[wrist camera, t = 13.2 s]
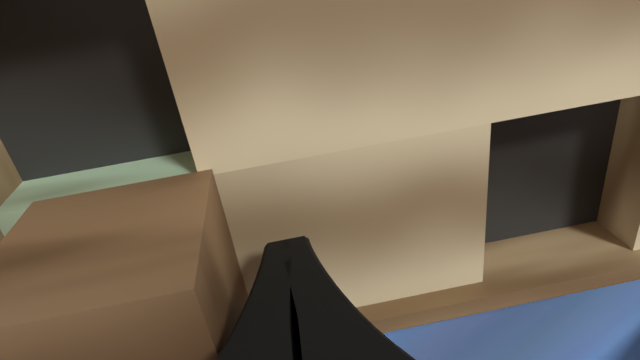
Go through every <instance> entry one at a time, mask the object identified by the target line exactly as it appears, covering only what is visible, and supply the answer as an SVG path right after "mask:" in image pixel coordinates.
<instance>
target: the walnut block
mask: <svg viewBox="0 0 640 360" xmlns="http://www.w3.org/2000/svg"><path fill="white" fill-rule="evenodd" d="M247 299H248V294H247V290H246V287H245V283H244V280H243V276H242V273H241V269H240V266H239V262H238V259H237V255H236V252H235V248H234V245H233V241H232V238H231V234H230V231H229V227H228V224H227V220H226V216H225V213H224V209H223V206H222V202H221V199H220V195H219V192H218V188H217V185H216V181H215V178H214V174H213V171H212V169H209V170H204V171H198V172H193V173H187V174H182V175H177V176H171V177H166V178H160V179H155V180H149V181H144V182H138V183H133V184H127V185H122V186H116V187H111V188H105V189H100V190H94V191H89V192H83V193H78V194H72V195H67V196H62V197H56V198H51V199H45V200H40V201H34V202H32V203H31V204H30V206H29V207H28V208H27V209H26V211H25V212H24V213H23V214H22V216H21V217H20V218H19V219H18V221H17V222H16V223H15V224H14V226H13V227H12V228H11V229H10V231H9V232H8V233H7V234H6V236H5V237H4V238H3V239H2V241H1V242H0V360H216V358H217V357H218V355H219V353H220V352H221V350H222V348H223V347H224V345H225V343H226V341H227V340H228V338H229V336H230V334H231V332H232V330H233V328H234V326H235V324H236V322H237V320H238V318H239V316H240V314H241V312H242V310H243V308H244V305H245V303H246V301H247Z"/></svg>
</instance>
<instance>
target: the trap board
mask: <svg viewBox="0 0 640 360" xmlns="http://www.w3.org/2000/svg"><path fill="white" fill-rule="evenodd" d="M209 169H212V171H213V174H214V178H215V181H216V185H217V188H218V192H219V195H220V199H221V202H222V206H223V209H224V213H225V216H226V220H227V224H228V227H229V231H230V234H231V238H232V241H233V245H234V248H235V252H236V255H237V259H238V262H239V266H240V269H241V273H242V276H243V280H244V283H245V287H246V290H247V294H248V296H249V294H250V291H251V288H252V286H253V283H254V281H255V278H256V275H257V272H258V269H259V266H260V263H261V259H262V256H263V251H264V247H265V246H266V244H267V243H270V242H275V241H280V240H285V239H290V238H295V237H300V236H305V237H307V238H309V241H310V244H311V246H312V248H313V250H314V252H315V254H316V256H317V257H318V259H319V261H320V262H321V264H322V265H323V267H324V268H325V270H326V271H327V273H328V274H329V275H330V277H331V278H332V279H333V281H334V282H335V283H336V285H337V286H338V287H339V289H340V290H341V291H342V292H343V293H344V295H345V296H346V297H347V298H348V299H349V300H350V301H351V303H352V304H353V305H354V306H355V307H356V308H357V309H358V310H359V311H360V312H361V313H362V314H363V315H364V316H365V317H366V318H367V319H368V320H369V321H370V322H371V323H372V324H373V325H374V326H375V327H376V328H377V329H378V330H379V331H380V332H382V333H386V332H391V331H395V330H400V329H405V328H410V327H414V326H419V325H424V324H429V323H434V322H438V321H443V320H448V319H453V318H457V317H462V316H467V315H472V314H477V313H481V312H486V311H491V310H496V309H500V308H505V307H510V306H515V305H520V304H524V303H529V302H534V301H539V300H543V299H548V298H553V297H558V296H563V295H567V294H572V293H577V292H582V291H586V290H591V289H596V288H601V287H606V286H610V285H615V284H620V283H625V282H629V281H634V280H639V279H640V0H0V242H1V241H2V239H3V238H4V237H5V236H6V234H7V233H8V232H9V231H10V229H11V228H12V227H13V226H14V224H15V223H16V222H17V221H18V219H19V218H20V217H21V216H22V214H23V213H24V212H25V211H26V209H27V208H28V207H29V206H30V204H31V203H32V202H34V201H40V200H45V199H51V198H56V197H62V196H67V195H72V194H78V193H83V192H89V191H94V190H100V189H105V188H111V187H116V186H122V185H127V184H133V183H138V182H144V181H149V180H155V179H160V178H166V177H171V176H177V175H182V174H187V173H193V172H198V171H204V170H209Z"/></svg>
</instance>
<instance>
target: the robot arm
mask: <svg viewBox="0 0 640 360" xmlns="http://www.w3.org/2000/svg"><path fill="white" fill-rule="evenodd" d="M216 360H415V359H414V358H413V357H411V356H410V355H409V354H407V353H406V352H405V351H404V350H402V349H401V348H400V347H398V346H397V345H396V344H394V343H393V342H392V341H391V340H390V339H388V338H387V337H386V336H385V335H384V334H383V333H382V332H380V331H379V330H378V329H377V328H376V327H375V326H374V325H373V324H372V323H371V322H370V321H369V320H368V319H367V318H366V317H365V316H364V315H363V314H362V313H361V312H360V311H359V310H358V309H357V308H356V307H355V306H354V305H353V304H352V303H351V301H350V300H349V299H348V298H347V297H346V296H345V295H344V293H343V292H342V291H341V290H340V289H339V287H338V286H337V285H336V283H335V282H334V281H333V279H332V278H331V277H330V275H329V274H328V273H327V271H326V270H325V268H324V267H323V265H322V264H321V262H320V261H319V259H318V257H317V256H316V254H315V252H314V250H313V248H312V246H311V244H310V241H309V238H307V237H305V236H300V237H295V238H290V239H285V240H280V241H275V242H270V243H267V244H266V246H265V247H264V251H263V256H262V259H261V263H260V266H259V269H258V272H257V275H256V278H255V281H254V283H253V286H252V288H251V291H250V294H249V296H248V299H247V301H246V303H245V305H244V308H243V310H242V312H241V314H240V316H239V318H238V320H237V322H236V324H235V326H234V328H233V330H232V332H231V334H230V336H229V338H228V340H227V341H226V343H225V345H224V347H223V348H222V350H221V352H220V353H219V355H218V357H217V358H216Z"/></svg>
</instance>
